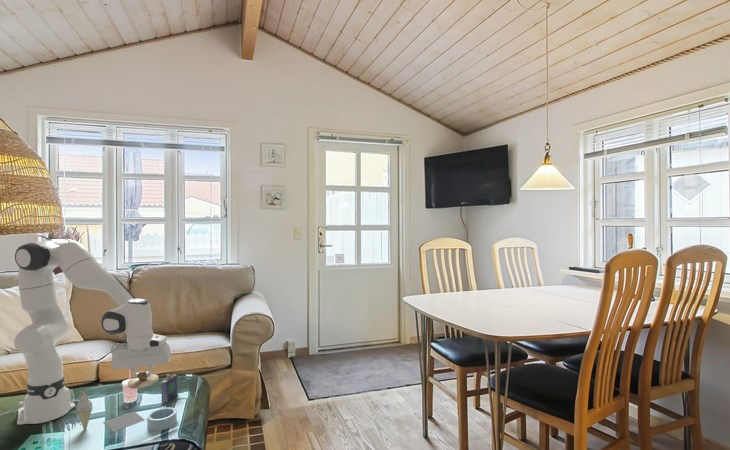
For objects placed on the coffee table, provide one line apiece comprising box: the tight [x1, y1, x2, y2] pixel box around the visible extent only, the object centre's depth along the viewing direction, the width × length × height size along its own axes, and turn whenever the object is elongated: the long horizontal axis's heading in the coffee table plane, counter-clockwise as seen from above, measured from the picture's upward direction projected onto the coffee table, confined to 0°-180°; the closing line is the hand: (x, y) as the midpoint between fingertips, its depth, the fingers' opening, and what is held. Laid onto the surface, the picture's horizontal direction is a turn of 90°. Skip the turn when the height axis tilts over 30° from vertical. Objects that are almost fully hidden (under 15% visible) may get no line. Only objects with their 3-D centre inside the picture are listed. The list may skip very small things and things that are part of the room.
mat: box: [103, 410, 145, 433], centre depth 156 cm, size 11×11×1 cm
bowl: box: [146, 407, 178, 432], centre depth 154 cm, size 10×10×4 cm
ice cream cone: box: [75, 391, 94, 431], centre depth 151 cm, size 5×5×15 cm
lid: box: [127, 370, 159, 389], centre depth 154 cm, size 10×10×4 cm
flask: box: [160, 373, 178, 403], centre depth 176 cm, size 9×3×11 cm, turn 172°
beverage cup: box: [121, 369, 138, 404], centre depth 174 cm, size 6×6×14 cm
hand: (143, 377), depth 154 cm, fingers closed on lid, 3 cm apart
